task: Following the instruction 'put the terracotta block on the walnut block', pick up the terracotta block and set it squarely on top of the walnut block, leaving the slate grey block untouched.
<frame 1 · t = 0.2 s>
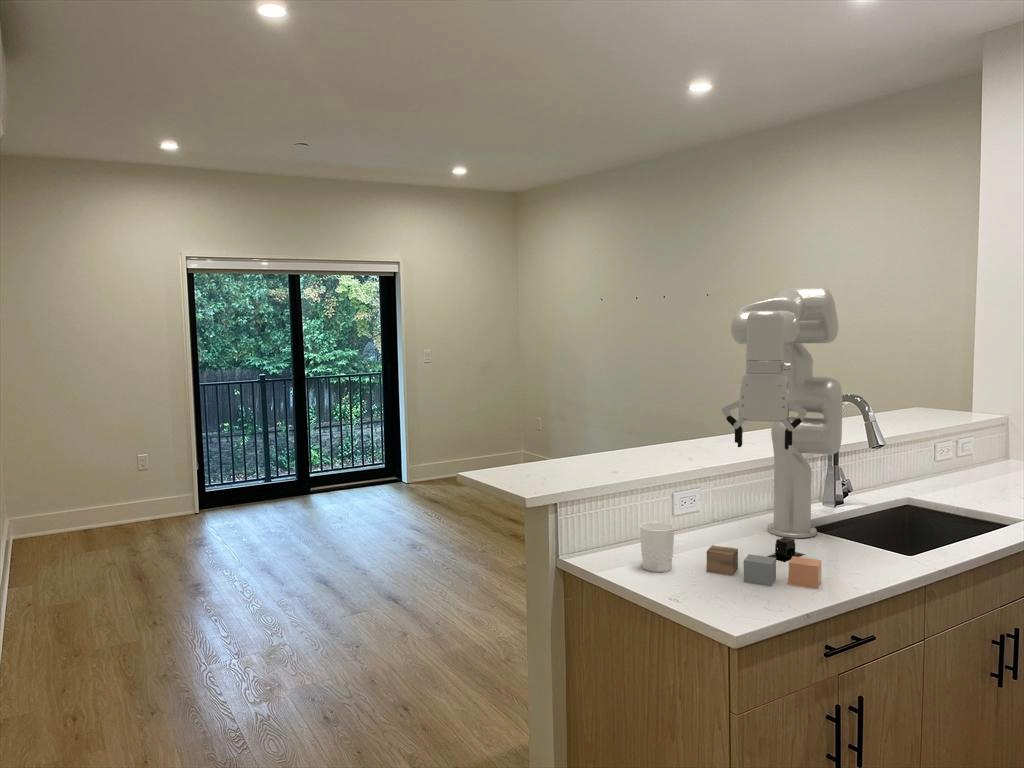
hand: (763, 447, 160), 30 cm above the worktop, tool pointing down, fingers open, 9 cm apart
terracotta block: (804, 583, 163), on the worktop
walnut block: (722, 570, 171), on the worktop
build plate: (785, 558, 182), on the worktop
slate grey block: (759, 581, 164), on the worktop
white cup: (657, 568, 174), on the worktop
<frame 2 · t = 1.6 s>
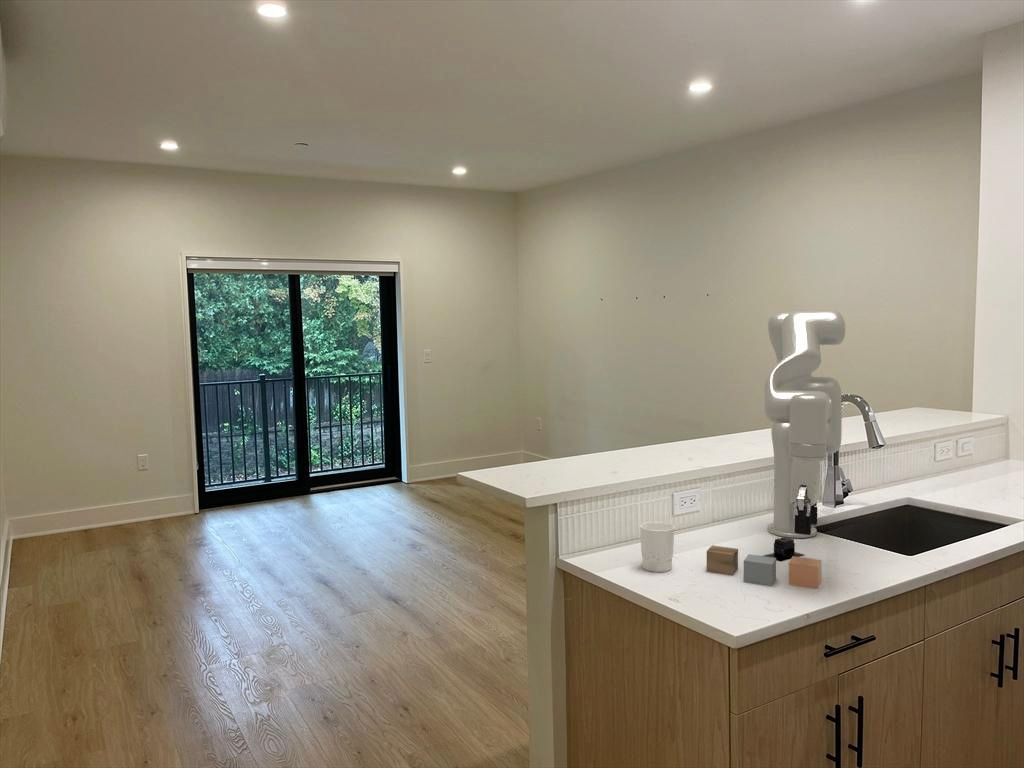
hand: (806, 528, 161), 12 cm above the worktop, tool pointing down, fingers open, 9 cm apart
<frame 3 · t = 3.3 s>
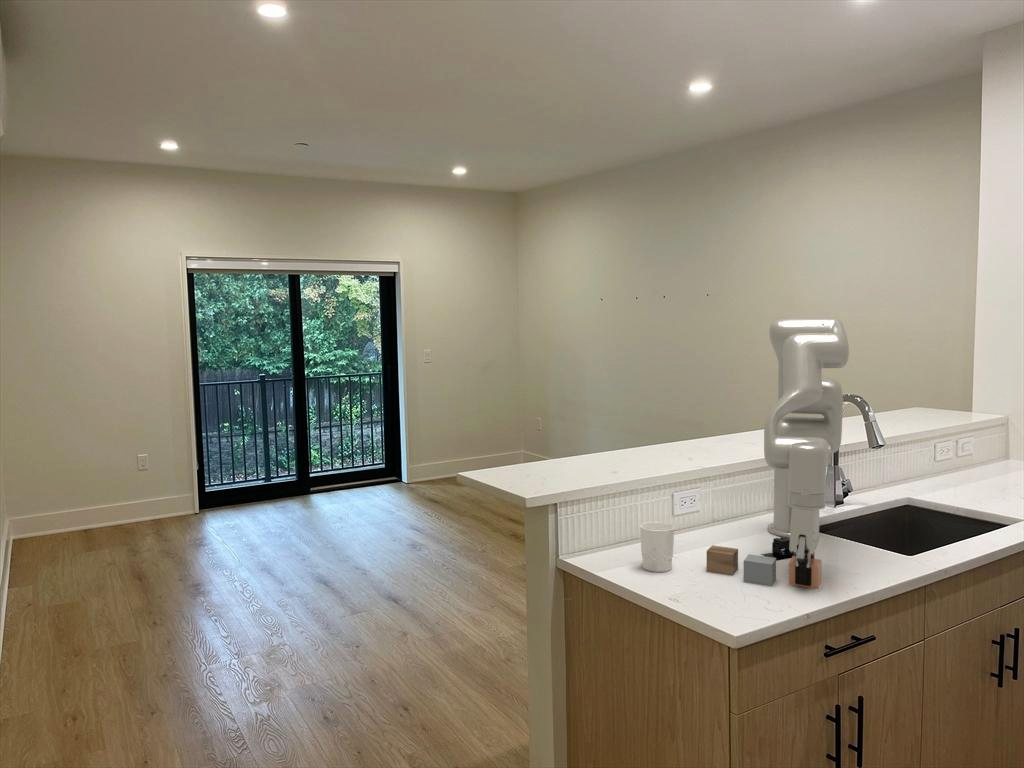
hand: (805, 579, 162), 1 cm above the worktop, tool pointing down, fingers closed on terracotta block, 5 cm apart
terracotta block: (804, 583, 162), on the worktop, touching gripper
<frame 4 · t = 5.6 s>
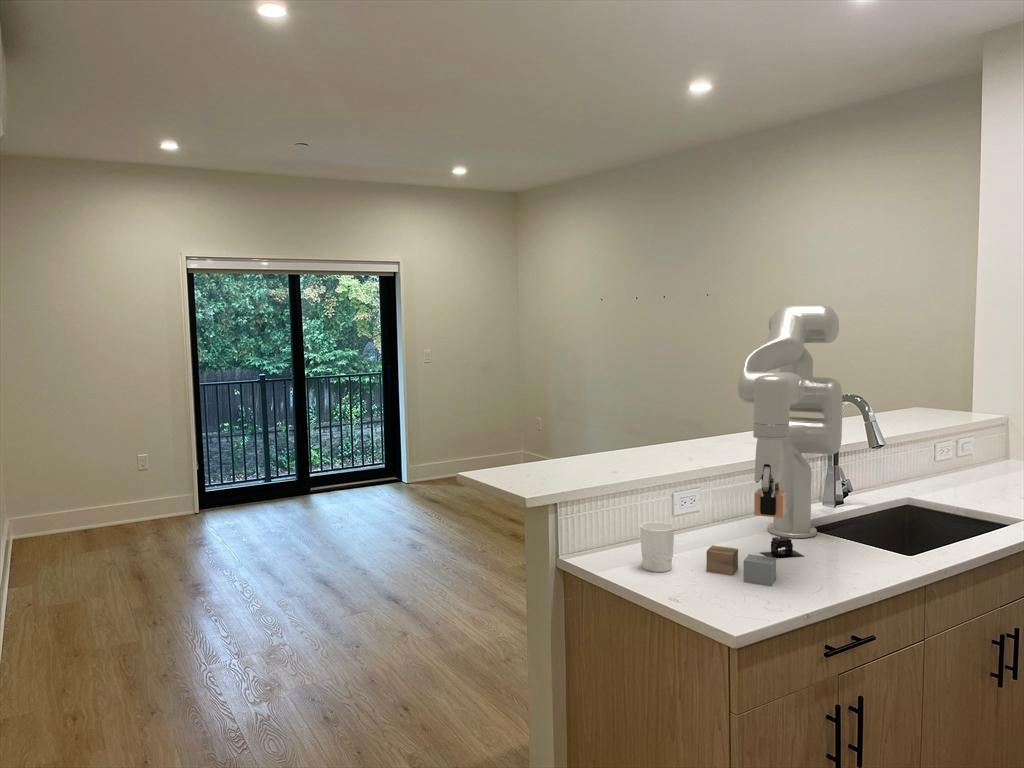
hand: (770, 510, 165), 15 cm above the worktop, tool pointing down, fingers closed on terracotta block, 5 cm apart
terracotta block: (770, 514, 165), point 15 cm above the worktop, touching gripper
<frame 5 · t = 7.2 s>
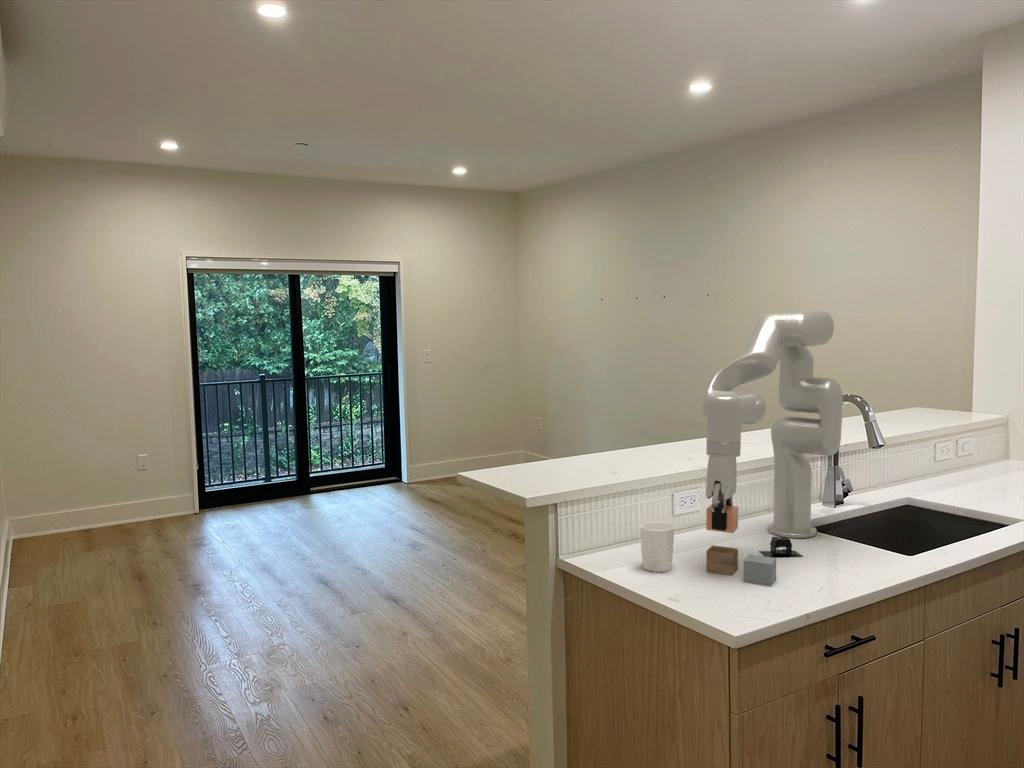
hand: (722, 525, 170), 11 cm above the worktop, tool pointing down, fingers closed on terracotta block, 5 cm apart
terracotta block: (722, 528, 170), point 10 cm above the worktop, touching gripper
when the fingers open (7 cm above the worktop, at t = 8.2 s): terracotta block drops 1 cm, resting on walnut block.
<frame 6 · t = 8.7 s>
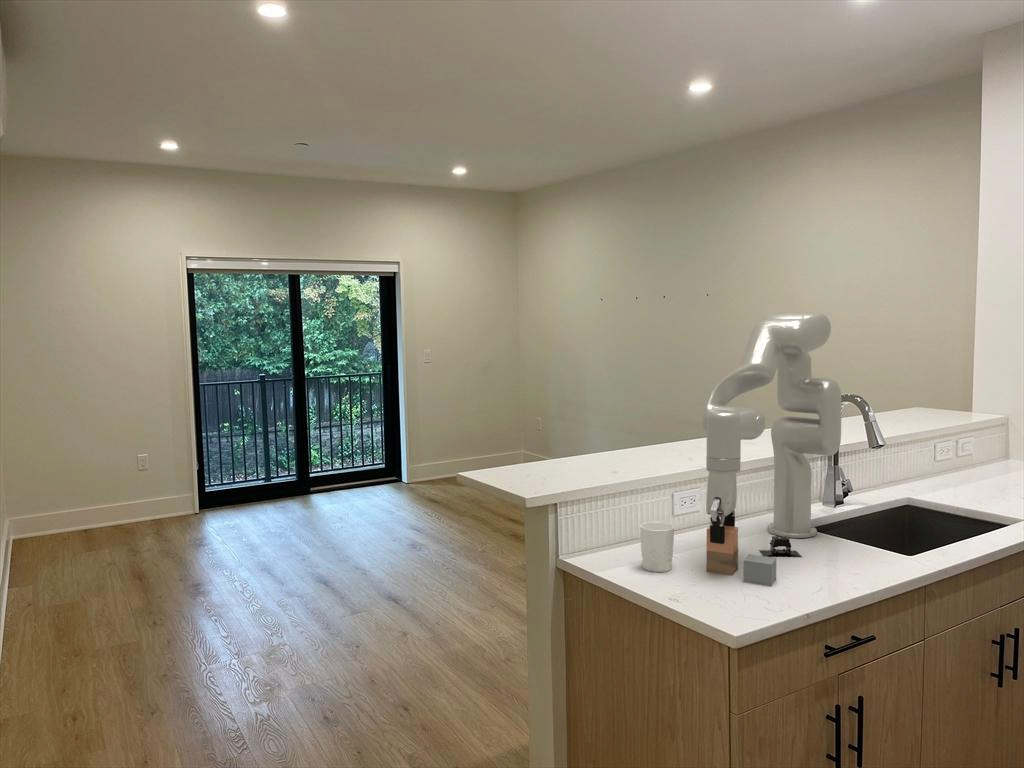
hand: (722, 537, 171), 8 cm above the worktop, tool pointing down, fingers open, 9 cm apart
terracotta block: (722, 549, 171), point 5 cm above the worktop, touching walnut block
walnut block: (722, 570, 171), on the worktop, touching terracotta block
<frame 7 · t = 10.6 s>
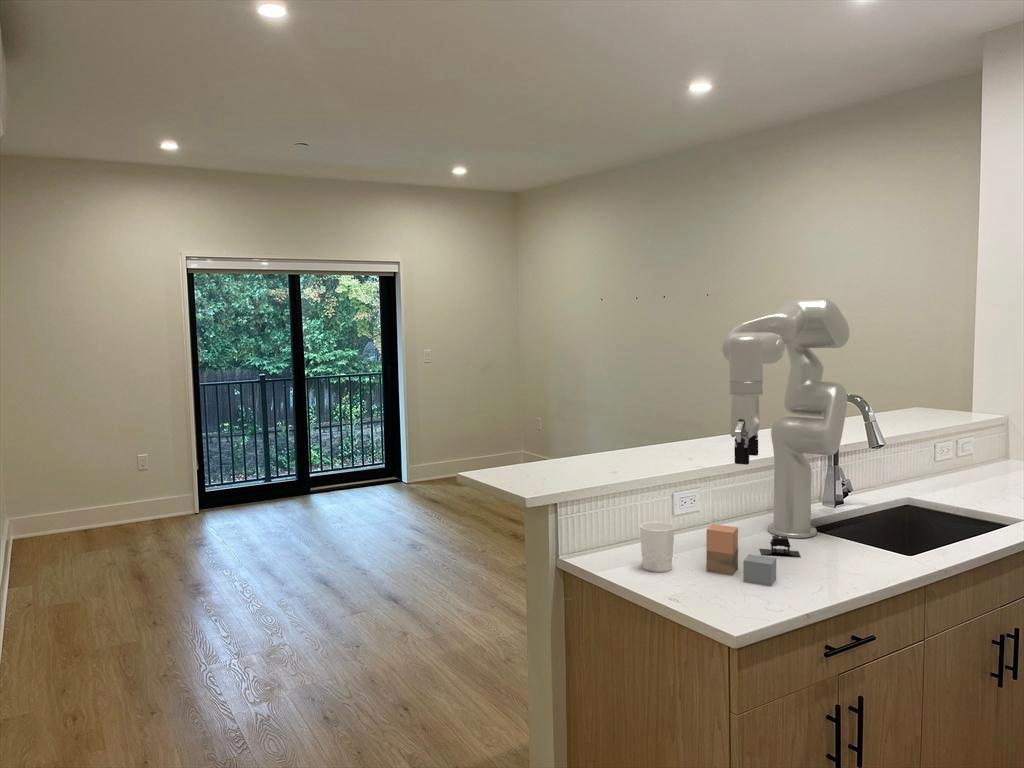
hand: (746, 459, 175), 25 cm above the worktop, tool pointing down, fingers open, 9 cm apart
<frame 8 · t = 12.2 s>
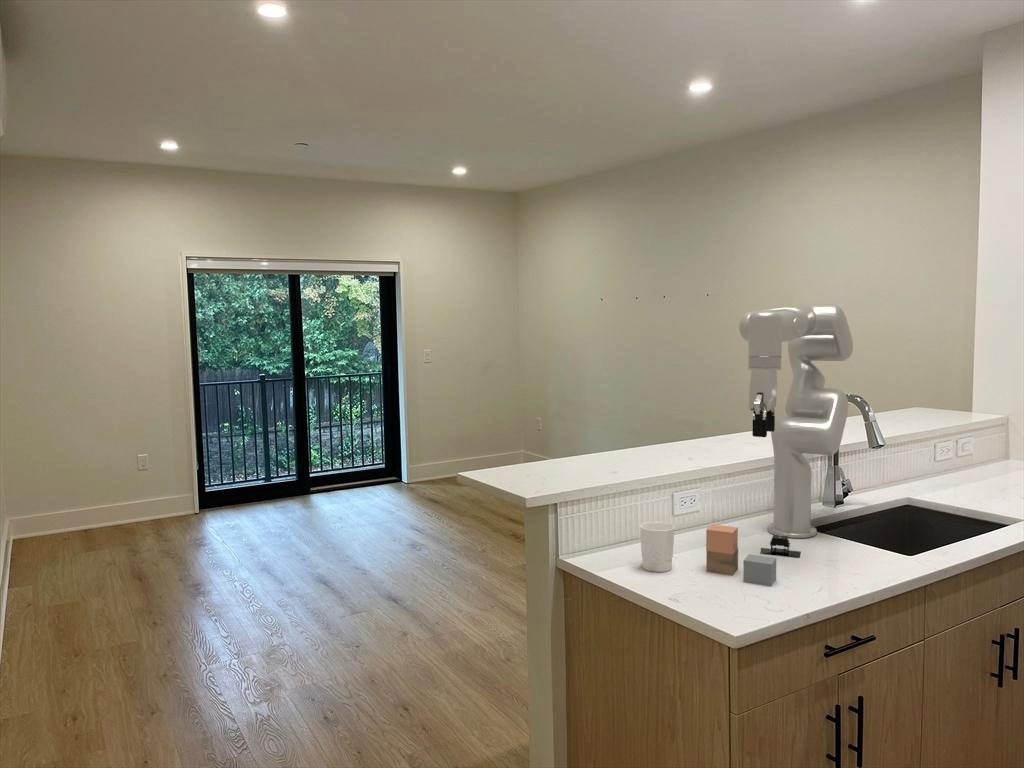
hand: (763, 433, 179), 30 cm above the worktop, tool pointing down, fingers open, 9 cm apart
at the end: terracotta block 0.1 cm off-centre on the walnut block, point 5.0 cm above the walnut block's base; slate grey block moved 0.1 cm from its start; walnut block moved 0.1 cm from its start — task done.
